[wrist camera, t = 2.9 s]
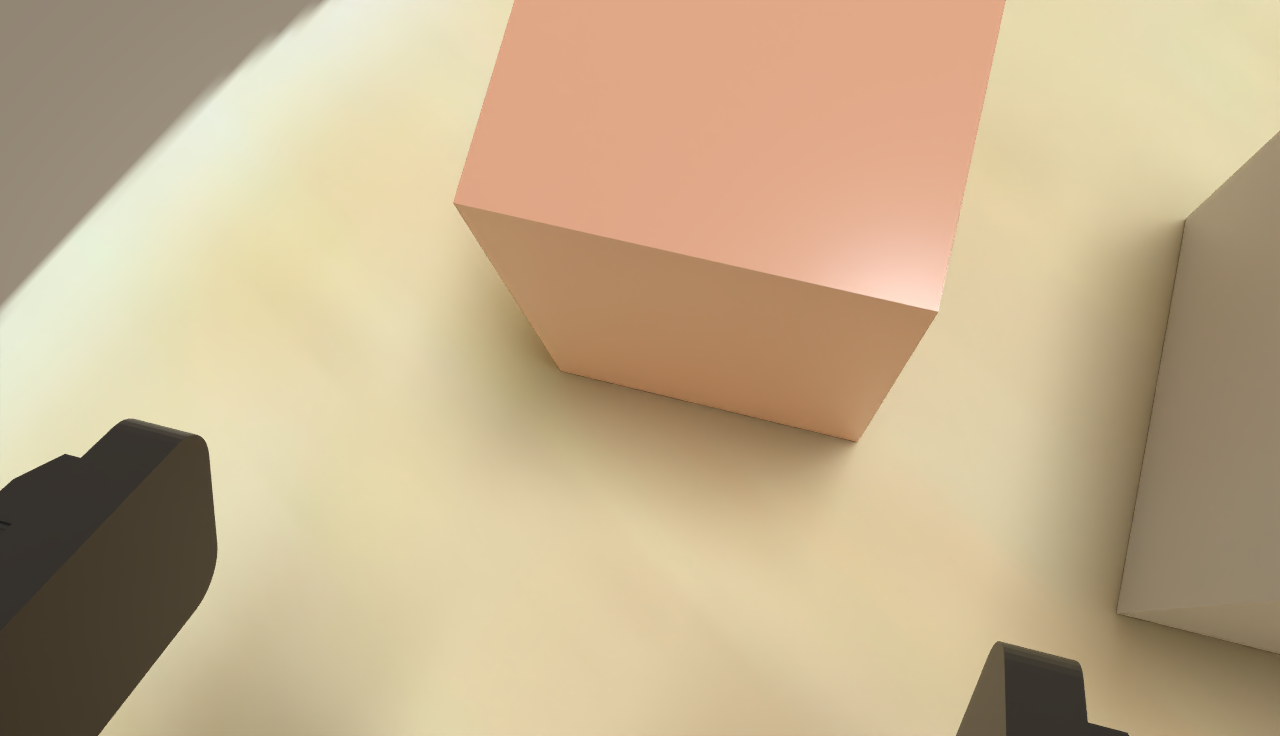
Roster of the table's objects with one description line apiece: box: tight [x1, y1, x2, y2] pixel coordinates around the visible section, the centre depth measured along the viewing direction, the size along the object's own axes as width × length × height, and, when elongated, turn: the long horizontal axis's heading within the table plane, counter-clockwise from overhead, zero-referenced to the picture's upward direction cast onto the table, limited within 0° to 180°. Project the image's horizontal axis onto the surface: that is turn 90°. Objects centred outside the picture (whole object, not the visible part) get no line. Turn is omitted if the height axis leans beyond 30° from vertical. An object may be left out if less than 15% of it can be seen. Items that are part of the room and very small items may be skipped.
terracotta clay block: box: [453, 0, 1006, 442], centre depth 21 cm, size 8×6×10 cm
